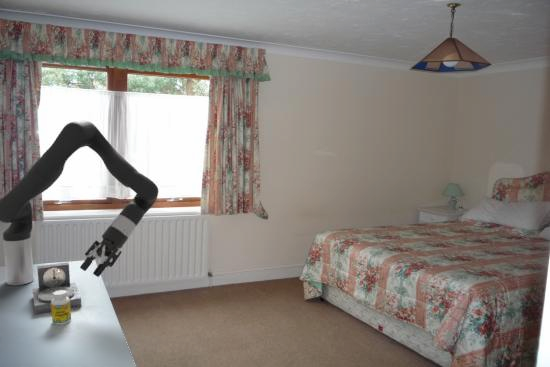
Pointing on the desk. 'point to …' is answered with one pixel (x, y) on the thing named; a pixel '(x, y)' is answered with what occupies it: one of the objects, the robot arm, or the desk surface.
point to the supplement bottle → (60, 308)
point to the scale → (54, 287)
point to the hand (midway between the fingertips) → (88, 272)
